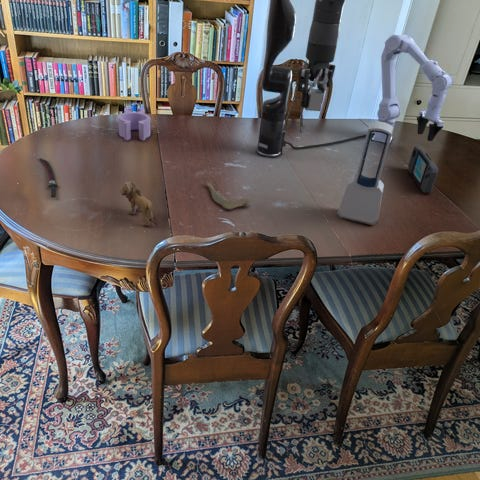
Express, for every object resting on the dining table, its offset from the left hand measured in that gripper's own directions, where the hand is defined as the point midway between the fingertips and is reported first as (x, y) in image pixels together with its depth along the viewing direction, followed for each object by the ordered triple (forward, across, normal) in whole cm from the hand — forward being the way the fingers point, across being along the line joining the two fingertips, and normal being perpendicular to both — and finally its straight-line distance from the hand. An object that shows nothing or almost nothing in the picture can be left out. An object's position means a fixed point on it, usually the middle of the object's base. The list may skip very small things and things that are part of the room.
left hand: (311, 105), depth 129 cm
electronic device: (+34, -13, +16) cm, 40 cm away
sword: (+34, +46, -65) cm, 87 cm away
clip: (+34, -2, -83) cm, 90 cm away
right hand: (+26, -86, +5) cm, 90 cm away
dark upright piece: (+34, -64, -48) cm, 87 cm away
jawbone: (+34, +9, -20) cm, 40 cm away
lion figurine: (+34, +39, -27) cm, 58 cm away
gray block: (+1, 0, 0) cm, 1 cm away
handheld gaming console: (+34, -57, +17) cm, 68 cm away
